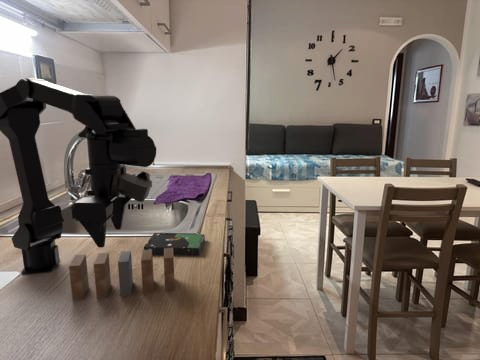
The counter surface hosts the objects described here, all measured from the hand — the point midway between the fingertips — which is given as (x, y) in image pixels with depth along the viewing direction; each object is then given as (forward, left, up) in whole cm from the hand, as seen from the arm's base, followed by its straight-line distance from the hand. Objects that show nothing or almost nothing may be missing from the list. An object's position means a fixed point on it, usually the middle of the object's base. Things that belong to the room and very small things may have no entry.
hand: (110, 237), depth 68 cm
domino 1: (-6, 0, -12) cm, 13 cm away
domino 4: (+7, 0, -12) cm, 14 cm away
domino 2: (-2, 0, -12) cm, 12 cm away
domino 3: (+3, 0, -12) cm, 12 cm away
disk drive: (+13, +20, -13) cm, 27 cm away
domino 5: (+11, 0, -12) cm, 16 cm away
